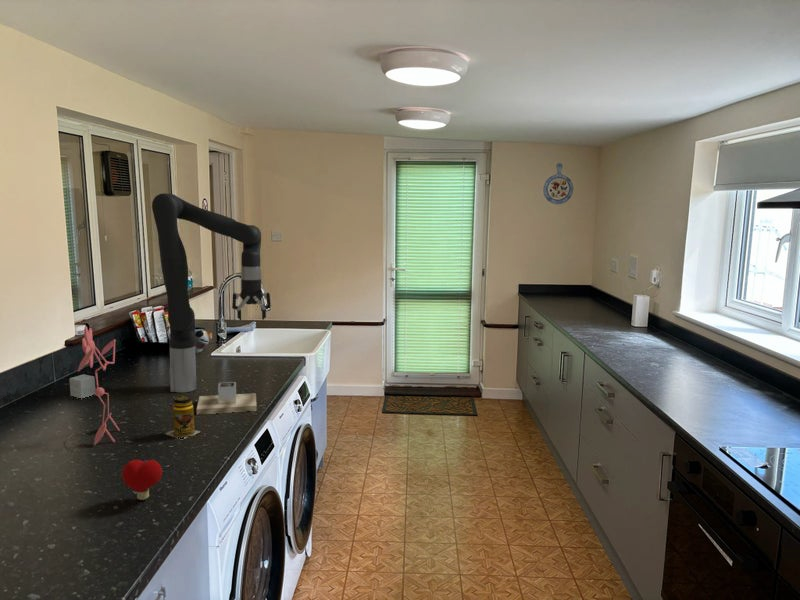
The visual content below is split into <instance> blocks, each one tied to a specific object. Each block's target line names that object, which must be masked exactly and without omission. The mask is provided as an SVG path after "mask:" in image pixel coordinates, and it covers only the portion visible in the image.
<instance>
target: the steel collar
mask: <svg viewBox="0 0 800 600" xmlns="http://www.w3.org/2000/svg"><path fill="white" fill-rule="evenodd" d="M224 384H231V387H223V385H224ZM236 394H237V382H236V381H230V382H229V381H227V382H226V381H225V382H218V385H217V395H218V404H229V403H236Z"/></svg>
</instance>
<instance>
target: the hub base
mask: <svg viewBox="0 0 800 600" xmlns="http://www.w3.org/2000/svg"><path fill="white" fill-rule="evenodd" d="M223 387H231V384H224V385H223ZM256 393H257V392H256ZM256 393H255V392H253V393H236V403H229V404H218V394H216V395H200V396H199V398H198V402H197V406H196V416H199V414H200V416H201V414H202V415H216V413H218V414H230V413H232V412H234V413H248V412H247V411H250V412H257V407H258V405H257V394H256Z"/></svg>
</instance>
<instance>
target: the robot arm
mask: <svg viewBox="0 0 800 600" xmlns="http://www.w3.org/2000/svg"><path fill="white" fill-rule="evenodd" d="M151 209H152V214H153V218H154V223H155V225H156V231H157V237H158V249H159V256H160V257H159V258H160V266H161V272H162V276H163V277H162V278H163V283H164V286H165V290H166V291H165V292H166V296H167V299H166V300H167V322H168V325H169V363H170V365H169V387H170V388H169V389H170V391H169V392H170V393H174V392H175V393H188V392H192V391H195V390H196V389H197V368H196V367H197V366H196V365H197V363H196V359H197V358H196V353H195V329H196V315H195V311H194V309H193V308H192V307H191V304H190V303H191V302H190V299H189V293H188V292H189V290H188V289H189V269H188V268H189V265H188V257H187V252H186V248H185V246H184V242H183V241H182V239H181V236H180V232H179V227H178V220H183V221H188V222H191V223H192V224H195V225H198V226H200V227H202V228H204V229H206V230H209V231H210V232H213V233H217V234H218V235H221V236H224V237H228V238H231V239H234V240H235V241H237V242H241V243H242V252H241V263H240V264H241V266H240V267H241V268H240V290H241V291H240V293H236V292H233V293H232V304H231V305H232V307H231V308H232V309H233V310H236V311H237V317H236V318H237V319H238V320H239V321H242V308H243V307H244V306H245V304H246V305H257V304H258V305H259V307H260V308H261V319H262V320H265V319H266V318H267V310H268V309H271V307H272V305H271V294H270V292H262V269H261V247H262V246H261V245H262V232H261V230H260V228H259V227H258V226H256V225H253V224H250V225H249V224H246V223H242V222H240V221H237V220H236V219H234V218H232V217H228V216H225V215H223V214H220V213H218V212H214V211H211V210H207V209H204V208H202V207H199V206H197V205H194V204H192V203H190V202H188V201H186V200H184V199H183V198H180V197H179V196H177V195H175V194H173V193H168V192H167V193H159V194H157V195H156V196H155V197H154V198H153V200H152V202H151ZM239 297H240V299H242V301H241V302H240V303H239V305H236V304H237V300H238V299H239ZM263 297H264V299H266V305H265V304H264V303H263V302H262V301H261V299H262V298H263Z"/></svg>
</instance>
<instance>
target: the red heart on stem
mask: <svg viewBox="0 0 800 600" xmlns="http://www.w3.org/2000/svg"><path fill="white" fill-rule="evenodd" d="M162 476H163V468H162V466H161V464H160V463H159V462H158V461H156V460H154V459H148V460H145V461H143V460H140V459H133V460H130V461H128V462H127V463H126V464H125V465H124V466H123V468H122V470H121V478H122V480H123V483H124V484H125V485H126V486H127V487H128V488H130V489H131V490H133V491H135V492H136V497H137V499H138V500H140V501H145V500H147V499H148V498H149V497H150V488H152V487H153V486H156V485H157V484H158V483H159V482H160V481H161V479H162Z"/></svg>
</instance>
